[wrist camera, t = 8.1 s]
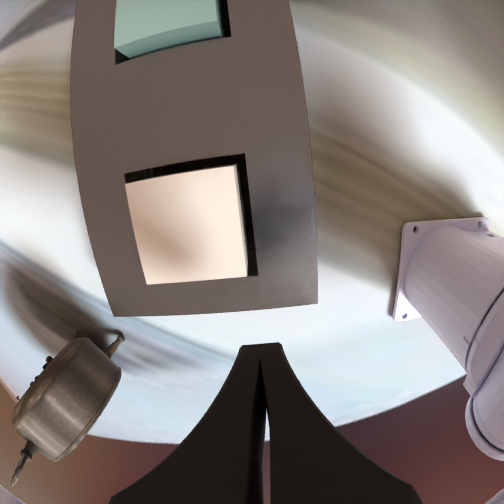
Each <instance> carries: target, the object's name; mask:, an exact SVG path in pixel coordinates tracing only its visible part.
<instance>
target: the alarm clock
mask: <svg viewBox="0 0 504 504" xmlns="http://www.w3.org/2000/svg"><path fill="white" fill-rule="evenodd" d="M124 340H125V338H124V336H123V335H119V336H118V337H117V340H116V341H114V342H113V343H112V344H111V345H110V346H109V347H108V348H107V349H106V350H105V351H101V350H100V349H99V348H98V347H97V346H96V345H95V344H94V343H93V342H92V341H91V340H90V339H88V338H85V337H79V338H77V332H76V331H75V333H74V339H73V340H72V341H71V342H69V343H68V344H67V345H66V346H65V347H64V348H63V349H62V350H61V351H60V352H59V353H58V355H57V356H56V357H55V358H54V359H53V358H52V357H51V356H48V357H47V358H46V362H47V363H46V364H45V365H44V366H43V369H44V370H43V371H42V372H41V374H40V375H39V376H36V377H35V381H34V382H31V383H30V387H29V388H28V390H27V391H26V392H25V394H24V395H23V396H22V398H21V399H20V400H19V396H17V397H16V398H17V399H18V400H19V402H18V403H17V405H16V406H15V408H14V410H13V413H12V423H13V426H14V428H15V430H16V431H17V432H18V433H19V434H20V435H21V436H22V437H23V438H24V439H25V440H27V443H26V446H25V448H24V449H23V450H21V452H20V454H21V456H22V458H21V459H20V461H19V463H18V466H17V468H16V470H15V473H14V474H13V477H12V480H11V486H14V484H15V483H16V482H17V480H18V478H19V475H20V473H21V471H22V469H23V467H24V465H25V463H26V461H31V460H32V455H33V454H34V453H35V452H36V451H37V450H38V451H39V452H41V453H42V454H43V455H44V456H45V457H47V458H48V459H49V460H50V461H52V462H56V461H59V460H61V459H62V458H63V457H65V456H66V455H68V453H70V452H71V451H72V450H73V449H74V448H75V447H76V446H77V445H78V444H79V443H80V441H81V440H82V439H83V438H84V436H85V435H86V434H87V433H88V432H89V430H90V429H91V427H92V426H93V424H94V423H95V422H96V420H97V419H98V417H99V416H100V415H101V413H102V412H103V410H104V409H105V407H106V406H107V404H108V402H109V401H110V399H111V397H112V395H113V393H114V391H115V390H116V388H117V386H118V384H119V381H120V379H121V368H120V367H118V366H117V365H116V364H115V363H113V362H112V361H111V359H110V358H111V355H112V354H113V353H114V352H115V351H116V349H117V347H118V346H119V344H120V343H121V342H123V341H124Z"/></svg>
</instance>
